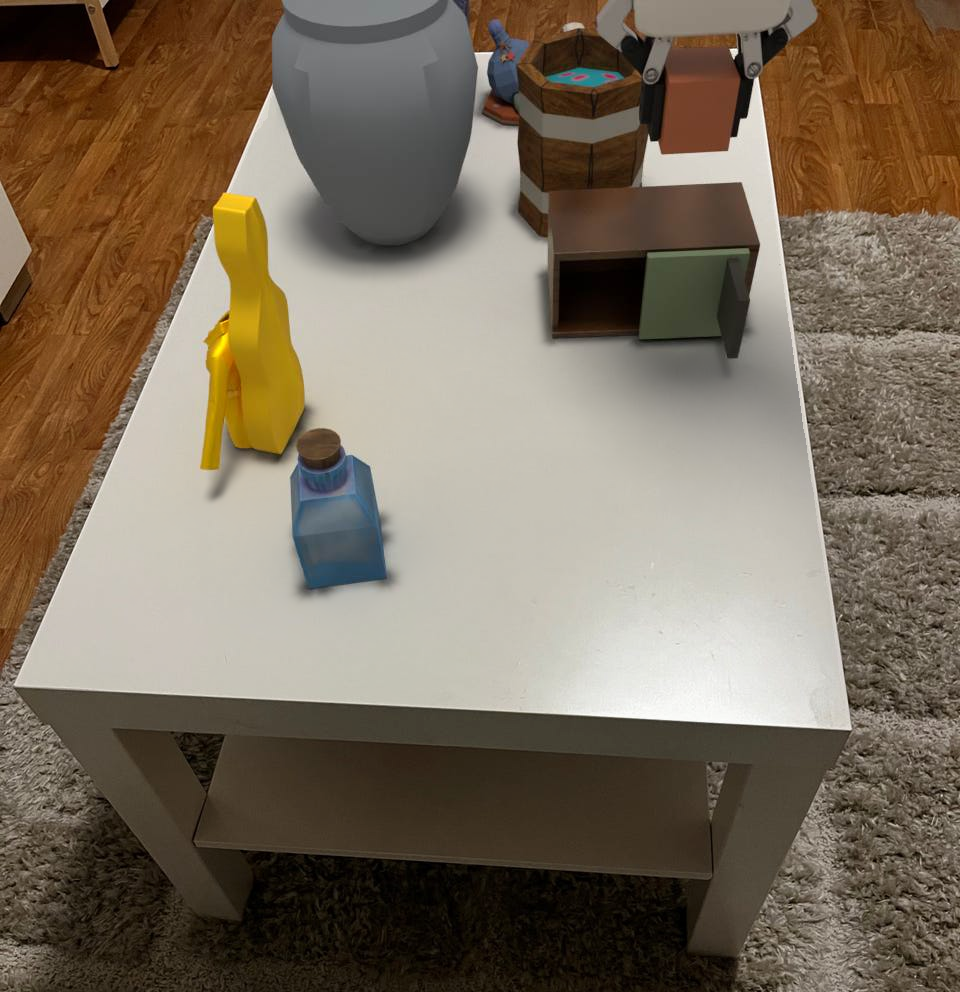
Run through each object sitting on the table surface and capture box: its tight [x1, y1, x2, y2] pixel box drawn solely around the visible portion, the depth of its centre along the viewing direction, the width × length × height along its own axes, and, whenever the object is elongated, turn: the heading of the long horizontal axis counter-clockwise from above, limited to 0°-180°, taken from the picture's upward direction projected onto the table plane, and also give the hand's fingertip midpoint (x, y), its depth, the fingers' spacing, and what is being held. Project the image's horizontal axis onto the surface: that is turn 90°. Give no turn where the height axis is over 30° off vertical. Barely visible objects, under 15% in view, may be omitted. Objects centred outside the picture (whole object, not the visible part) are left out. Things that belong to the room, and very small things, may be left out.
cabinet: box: [546, 181, 761, 339], centre depth 91 cm, size 18×10×9 cm, turn 90°
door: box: [638, 248, 751, 360], centre depth 86 cm, size 9×7×9 cm
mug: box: [516, 21, 649, 238], centre depth 101 cm, size 20×14×15 cm
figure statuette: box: [199, 192, 306, 471], centre depth 78 cm, size 18×8×22 cm, turn 166°
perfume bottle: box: [289, 427, 388, 590], centre depth 73 cm, size 6×6×12 cm
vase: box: [271, 0, 479, 246], centre depth 95 cm, size 20×20×24 cm
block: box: [657, 45, 740, 156], centre depth 69 cm, size 5×5×5 cm
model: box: [481, 18, 531, 127], centre depth 114 cm, size 12×9×9 cm
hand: (690, 127), depth 70 cm, fingers closed on block, 4 cm apart
